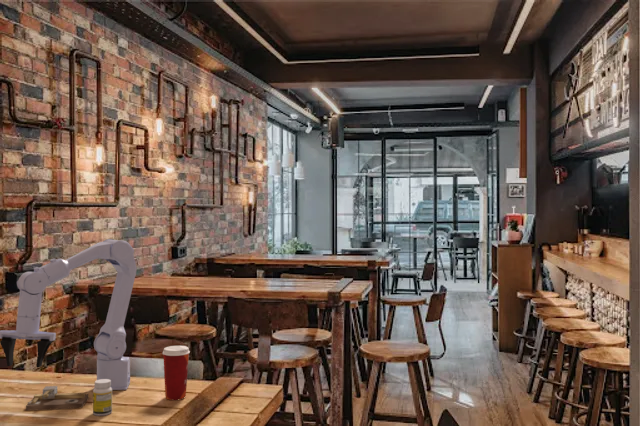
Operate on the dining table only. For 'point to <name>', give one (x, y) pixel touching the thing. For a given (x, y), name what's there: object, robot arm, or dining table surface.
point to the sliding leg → (49, 392)
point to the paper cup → (175, 371)
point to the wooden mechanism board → (58, 401)
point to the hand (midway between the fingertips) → (24, 366)
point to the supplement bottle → (102, 397)
